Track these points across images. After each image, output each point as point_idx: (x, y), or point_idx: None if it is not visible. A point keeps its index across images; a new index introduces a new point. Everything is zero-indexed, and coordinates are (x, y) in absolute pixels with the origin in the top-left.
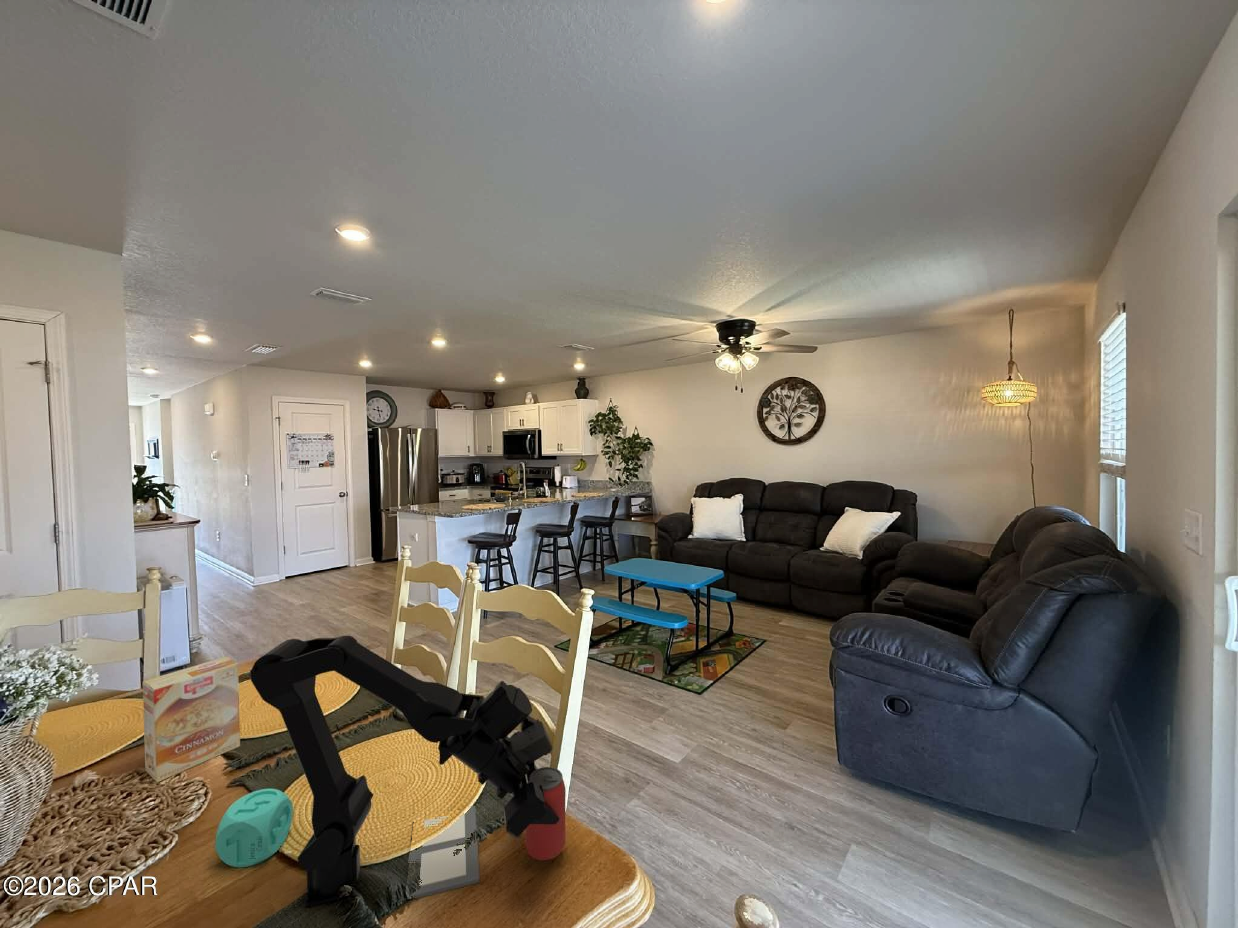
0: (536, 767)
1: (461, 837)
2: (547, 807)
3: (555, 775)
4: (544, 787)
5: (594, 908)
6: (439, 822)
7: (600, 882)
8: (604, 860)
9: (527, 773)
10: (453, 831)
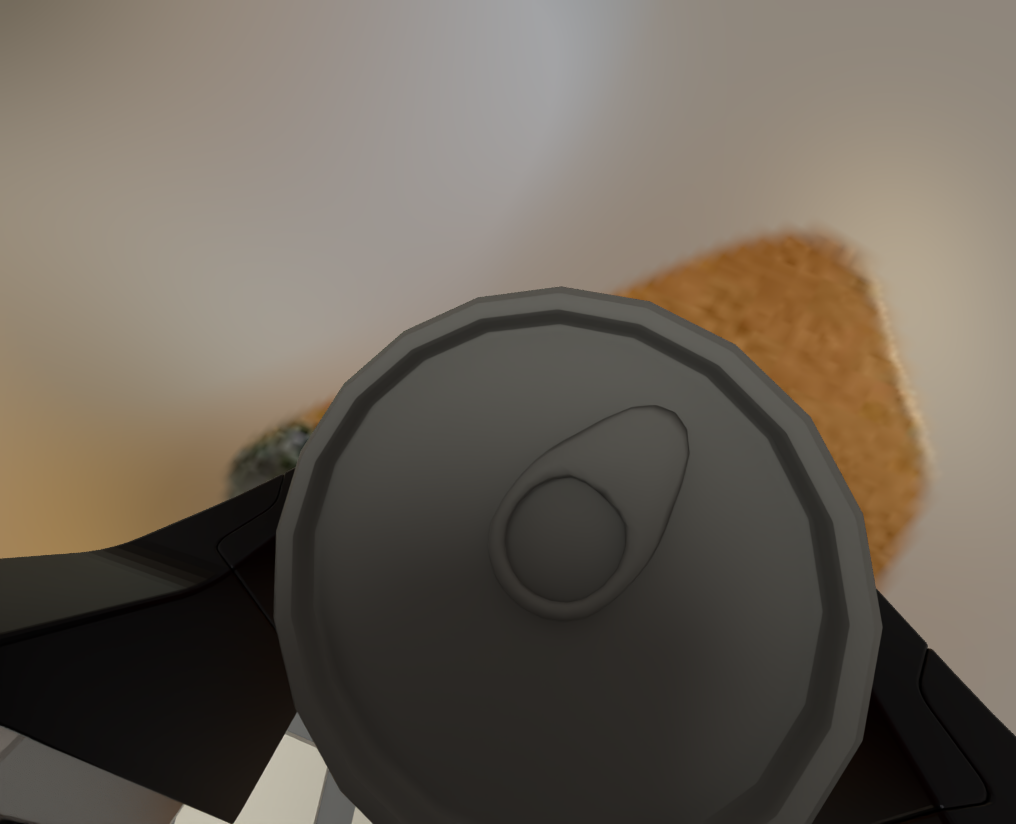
0: (209, 517)
1: (325, 766)
2: (986, 711)
3: (531, 390)
4: (827, 744)
5: (914, 418)
6: (207, 816)
7: (801, 347)
8: (705, 292)
9: (238, 654)
10: (280, 784)
